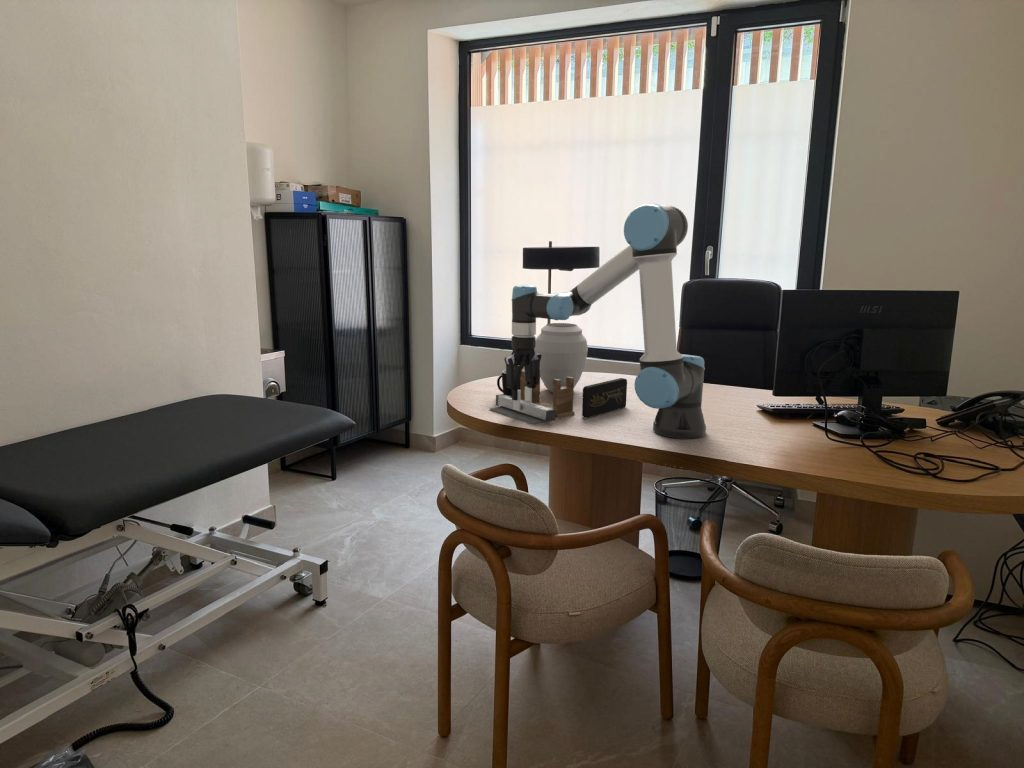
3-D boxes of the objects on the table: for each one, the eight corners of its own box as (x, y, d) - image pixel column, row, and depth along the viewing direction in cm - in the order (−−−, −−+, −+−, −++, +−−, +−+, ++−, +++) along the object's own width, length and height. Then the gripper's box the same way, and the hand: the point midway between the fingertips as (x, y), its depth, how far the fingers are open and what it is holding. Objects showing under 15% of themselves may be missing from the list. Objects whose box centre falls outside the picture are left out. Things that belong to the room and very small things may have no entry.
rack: (574, 415, 221) (575, 378, 218) (559, 418, 217) (560, 380, 214) (533, 402, 236) (534, 368, 233) (518, 405, 232) (519, 370, 229)
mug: (532, 400, 240) (533, 371, 238) (517, 405, 233) (517, 375, 231) (505, 395, 247) (505, 367, 245) (489, 399, 240) (489, 370, 238)
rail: (555, 420, 211) (555, 409, 210) (547, 421, 209) (547, 410, 208) (503, 403, 230) (503, 394, 229) (495, 404, 228) (496, 395, 227)
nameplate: (621, 406, 233) (622, 377, 231) (625, 407, 232) (627, 378, 230) (581, 417, 219) (582, 386, 216) (586, 418, 217) (587, 387, 215)
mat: (556, 420, 215) (556, 418, 215) (534, 424, 209) (534, 422, 209) (511, 406, 231) (511, 404, 231) (490, 410, 226) (490, 408, 226)
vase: (554, 382, 268) (556, 320, 262) (596, 390, 255) (599, 325, 250) (522, 391, 253) (523, 324, 248) (565, 399, 241) (567, 330, 236)
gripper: (536, 331, 223) (535, 402, 228) (494, 336, 212) (493, 410, 217) (552, 334, 217) (550, 407, 222) (509, 339, 207) (508, 415, 212)
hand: (522, 408), depth 220 cm, fingers open, 4 cm apart
